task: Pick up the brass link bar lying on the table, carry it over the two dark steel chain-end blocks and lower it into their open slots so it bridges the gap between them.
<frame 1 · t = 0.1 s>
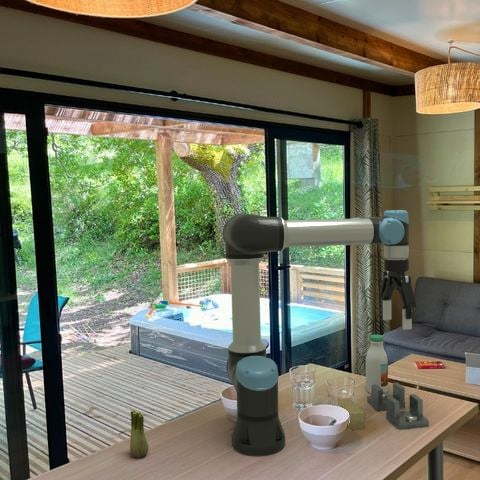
hand: (396, 324, 164), 28 cm above the table, tool pointing down, fingers open, 13 cm apart
chain end far: (385, 405, 169), on the table
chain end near: (407, 422, 156), on the table
fennel bulb: (139, 455, 139), on the table
link bar: (351, 421, 158), on the table
milk bottle: (376, 391, 183), on the table
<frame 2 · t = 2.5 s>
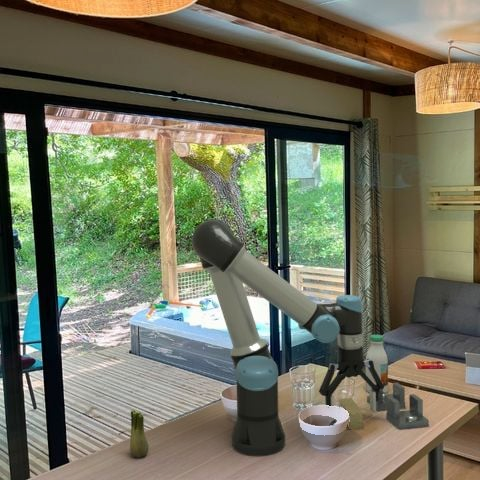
hand: (352, 414, 158), 2 cm above the table, tool pointing down, fingers open, 13 cm apart
nothing on the table moved.
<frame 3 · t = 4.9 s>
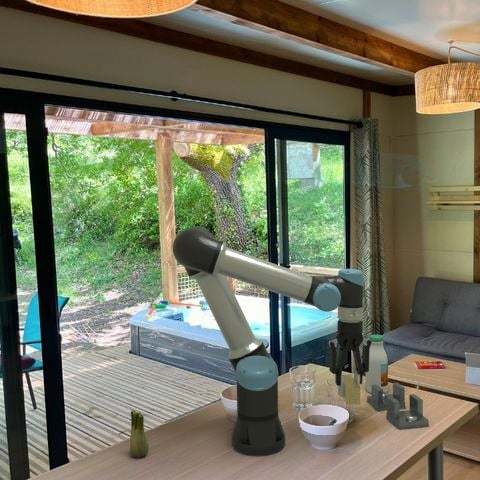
hand: (348, 394, 157), 8 cm above the table, tool pointing down, fingers closed on link bar, 4 cm apart
link bar: (348, 396, 157), point 8 cm above the table, touching gripper
everything else where it was.
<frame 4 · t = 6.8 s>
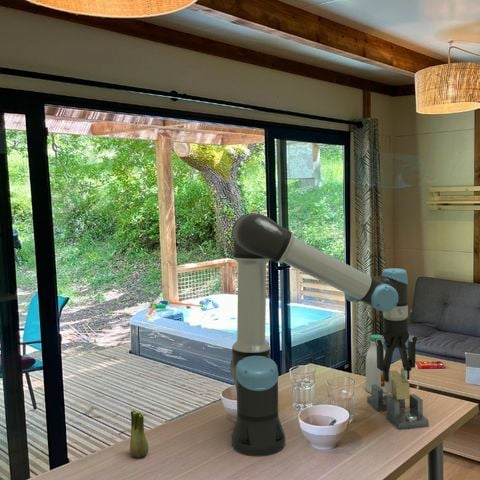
hand: (396, 390, 162), 8 cm above the table, tool pointing down, fingers closed on link bar, 4 cm apart
link bar: (396, 392, 162), point 7 cm above the table, touching chain end far, gripper
everything else where it was.
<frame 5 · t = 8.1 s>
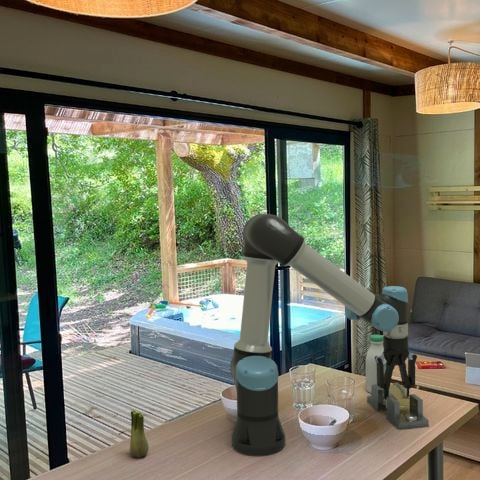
hand: (396, 407, 163), 2 cm above the table, tool pointing down, fingers closed on link bar, 4 cm apart
link bar: (396, 407, 163), point 2 cm above the table, touching chain end far, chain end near, gripper
everything else where it was.
when the fingers open (2 cm above the table, at t = 8.7 s): link bar stays where it is, resting on chain end far, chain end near.
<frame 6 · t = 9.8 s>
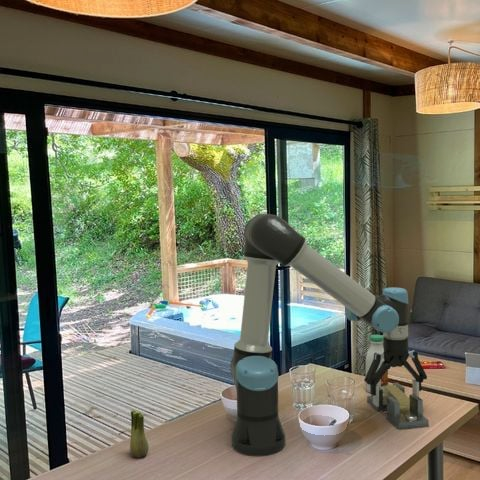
hand: (395, 403, 162), 3 cm above the table, tool pointing down, fingers open, 13 cm apart
link bar: (396, 407, 163), point 2 cm above the table, touching chain end far, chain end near
everything else where it was.
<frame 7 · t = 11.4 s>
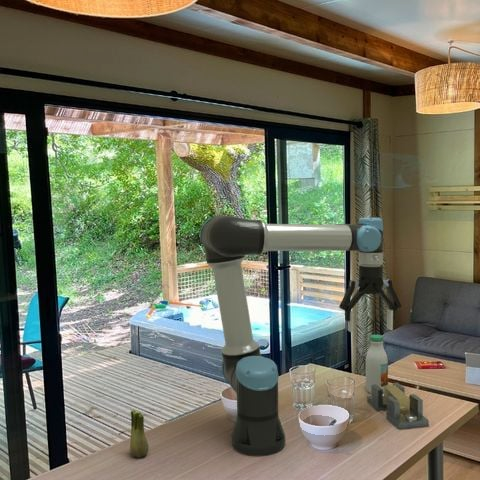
hand: (370, 330, 167), 26 cm above the table, tool pointing down, fingers open, 13 cm apart
nothing on the table moved.
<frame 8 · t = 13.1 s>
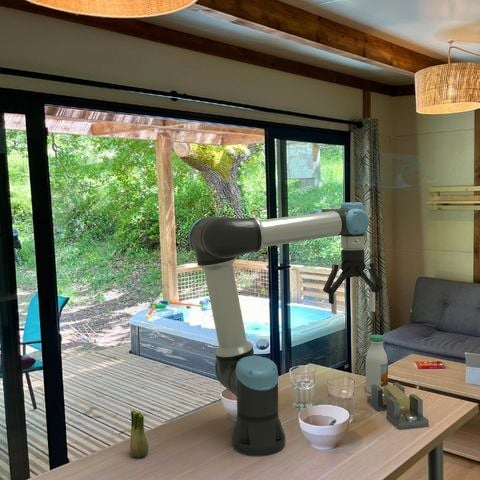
hand: (353, 312, 171), 31 cm above the table, tool pointing down, fingers open, 13 cm apart
nothing on the table moved.
at the end: link bar 0.2 cm from the target spot, point 2.0 cm above the table; link bar tilted 0°; the gripper is holding nothing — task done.
